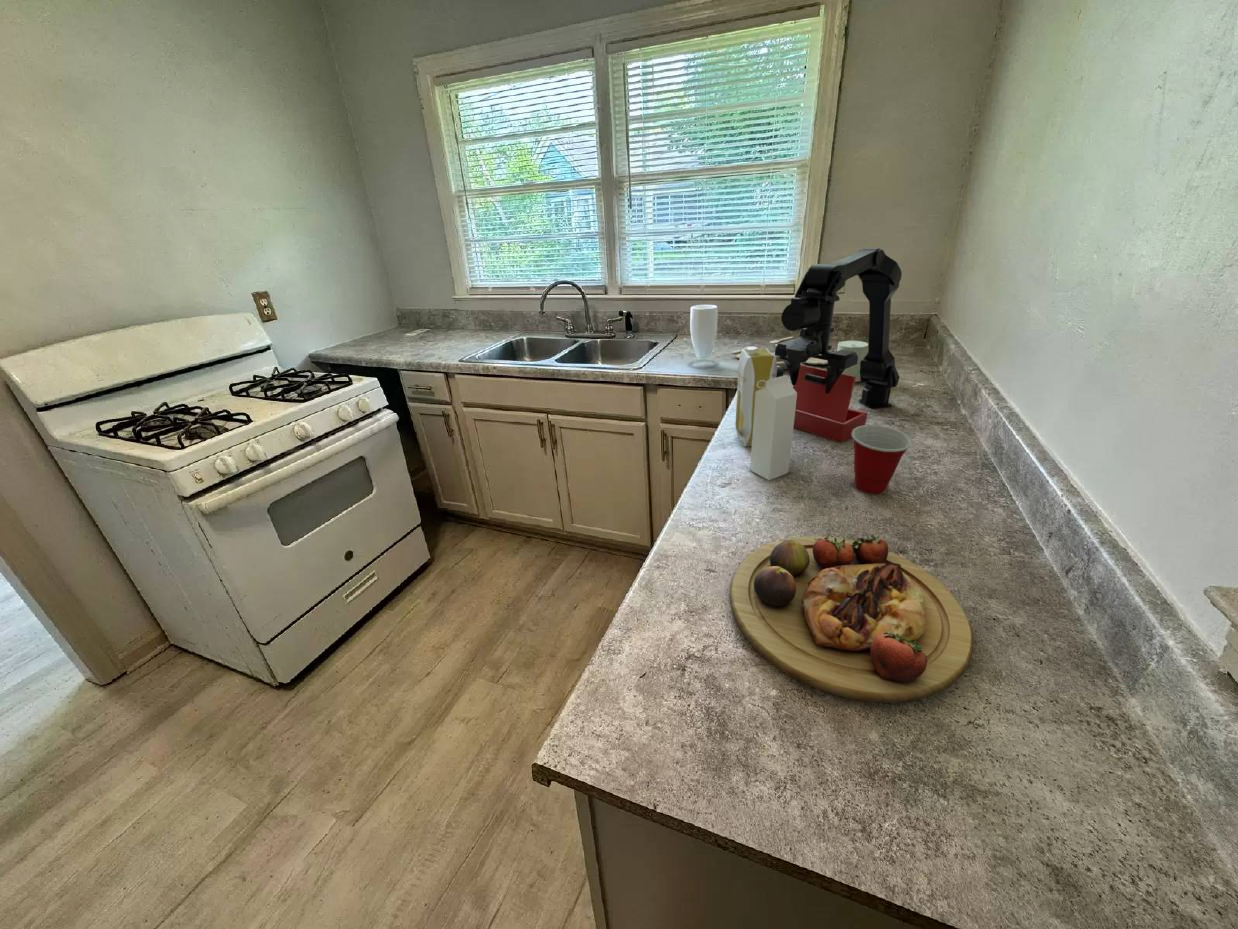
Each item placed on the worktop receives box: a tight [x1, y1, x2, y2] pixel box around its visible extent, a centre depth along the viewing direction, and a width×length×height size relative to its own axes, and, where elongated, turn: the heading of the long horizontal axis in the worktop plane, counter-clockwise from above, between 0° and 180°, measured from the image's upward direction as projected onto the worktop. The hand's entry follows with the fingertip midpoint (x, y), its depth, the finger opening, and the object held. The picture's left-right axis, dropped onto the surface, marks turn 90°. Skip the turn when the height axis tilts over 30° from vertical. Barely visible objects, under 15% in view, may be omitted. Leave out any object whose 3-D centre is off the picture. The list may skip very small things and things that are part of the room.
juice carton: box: [735, 346, 777, 447], centre depth 121 cm, size 9×8×24 cm
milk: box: [749, 374, 797, 481], centre depth 106 cm, size 6×6×22 cm
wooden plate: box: [729, 533, 974, 704], centre depth 71 cm, size 32×32×8 cm
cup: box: [689, 304, 719, 359], centre depth 186 cm, size 10×10×22 cm
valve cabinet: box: [793, 407, 868, 443], centre depth 130 cm, size 11×16×5 cm
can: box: [836, 340, 868, 383], centre depth 163 cm, size 9×9×12 cm
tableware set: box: [731, 336, 829, 370], centre depth 189 cm, size 35×29×4 cm
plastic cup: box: [851, 424, 913, 495], centre depth 100 cm, size 11×11×12 cm
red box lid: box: [792, 364, 856, 423], centre depth 122 cm, size 11×16×5 cm
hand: (810, 388), depth 120 cm, fingers open, 9 cm apart
